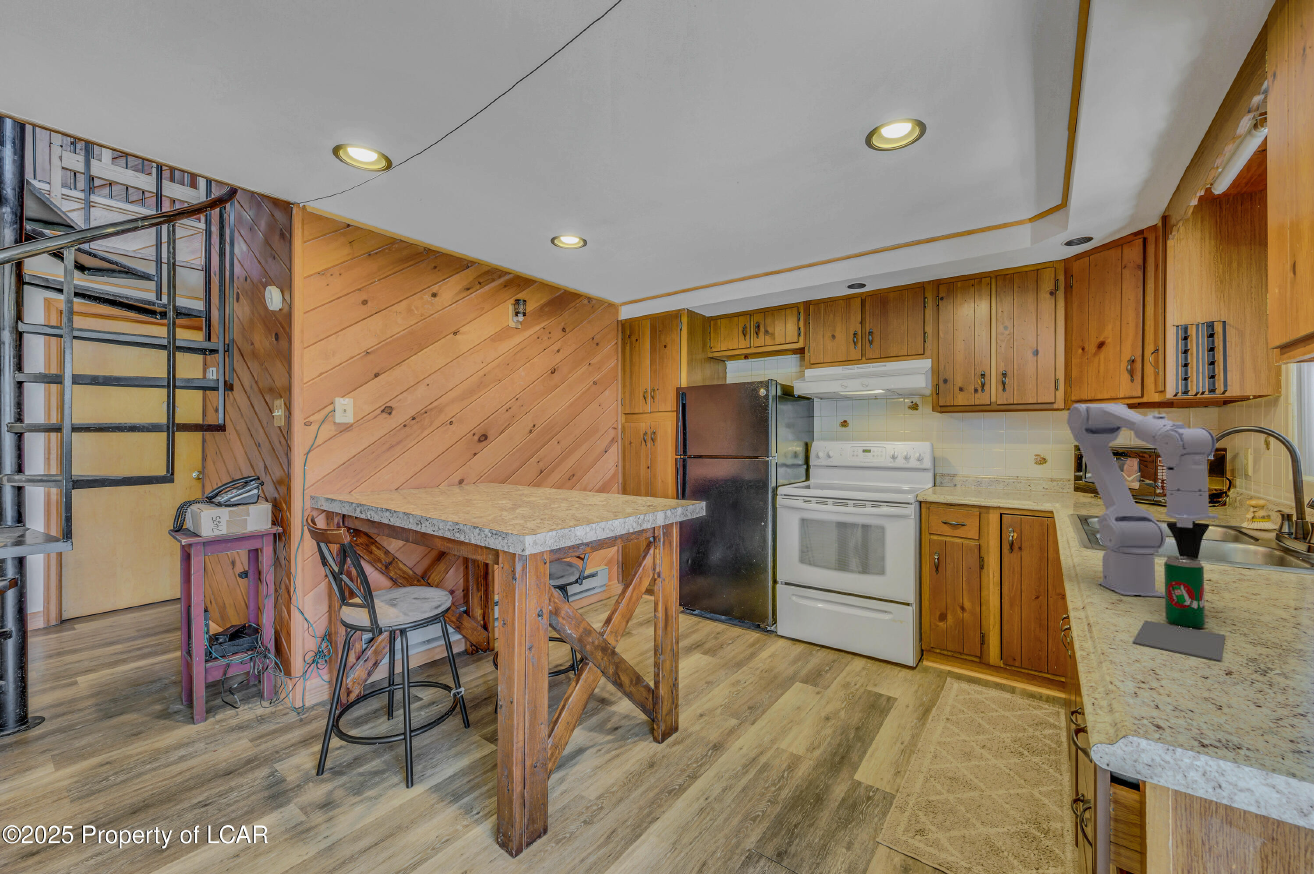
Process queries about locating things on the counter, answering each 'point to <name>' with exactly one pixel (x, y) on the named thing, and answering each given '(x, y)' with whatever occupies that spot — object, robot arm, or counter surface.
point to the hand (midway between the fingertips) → (1189, 560)
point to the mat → (1181, 640)
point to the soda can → (1184, 592)
